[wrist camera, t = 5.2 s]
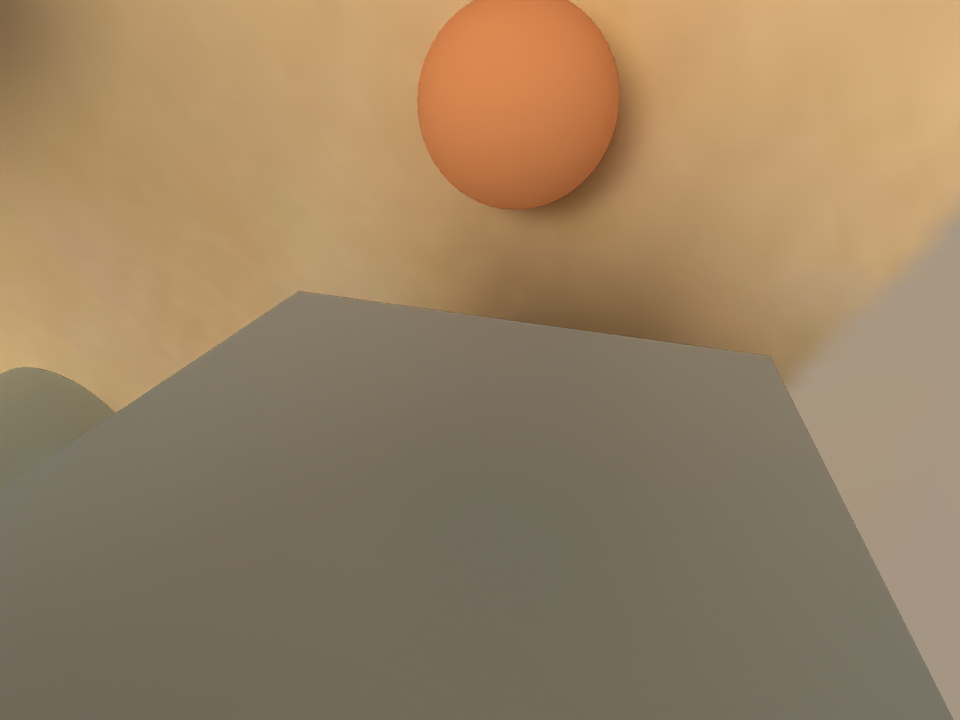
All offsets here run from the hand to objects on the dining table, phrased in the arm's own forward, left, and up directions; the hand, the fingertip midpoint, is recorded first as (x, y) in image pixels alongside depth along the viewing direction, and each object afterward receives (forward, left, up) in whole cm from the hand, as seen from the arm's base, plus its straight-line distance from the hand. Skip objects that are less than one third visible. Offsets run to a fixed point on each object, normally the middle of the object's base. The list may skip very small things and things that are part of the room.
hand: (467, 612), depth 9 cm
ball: (+3, +6, -10) cm, 12 cm away
